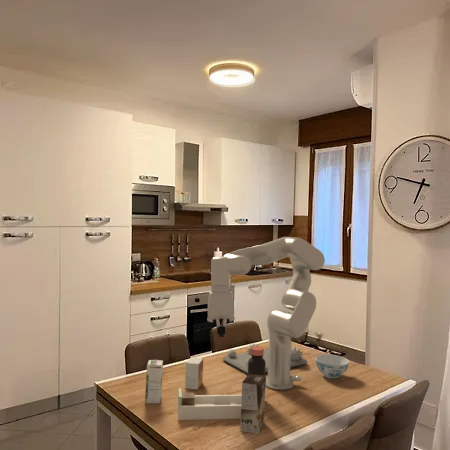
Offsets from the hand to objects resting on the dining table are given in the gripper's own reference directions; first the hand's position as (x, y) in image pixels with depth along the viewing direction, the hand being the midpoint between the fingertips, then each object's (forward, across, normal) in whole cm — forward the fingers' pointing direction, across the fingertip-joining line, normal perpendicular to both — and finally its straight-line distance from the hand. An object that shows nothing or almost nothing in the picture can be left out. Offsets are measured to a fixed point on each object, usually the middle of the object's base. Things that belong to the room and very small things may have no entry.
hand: (221, 335), depth 164 cm
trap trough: (+24, +3, +13) cm, 27 cm away
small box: (+24, +10, -13) cm, 29 cm away
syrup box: (+23, +26, +1) cm, 35 cm away
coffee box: (+24, -7, +24) cm, 35 cm away
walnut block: (+21, +14, +13) cm, 28 cm away
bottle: (+25, -13, +3) cm, 28 cm away
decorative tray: (+27, -27, -40) cm, 55 cm away
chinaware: (+27, -53, -21) cm, 63 cm away
